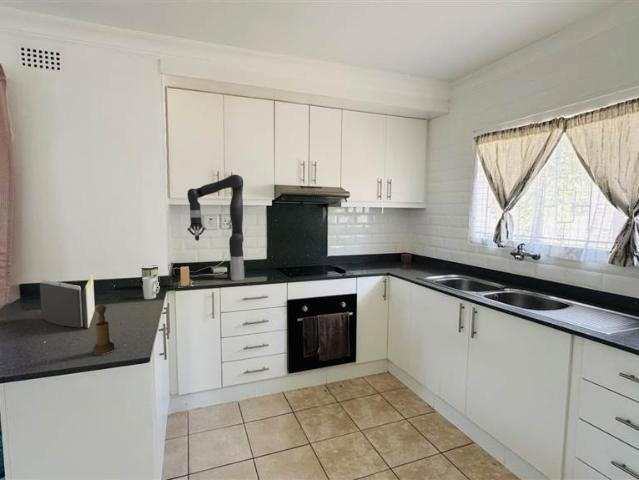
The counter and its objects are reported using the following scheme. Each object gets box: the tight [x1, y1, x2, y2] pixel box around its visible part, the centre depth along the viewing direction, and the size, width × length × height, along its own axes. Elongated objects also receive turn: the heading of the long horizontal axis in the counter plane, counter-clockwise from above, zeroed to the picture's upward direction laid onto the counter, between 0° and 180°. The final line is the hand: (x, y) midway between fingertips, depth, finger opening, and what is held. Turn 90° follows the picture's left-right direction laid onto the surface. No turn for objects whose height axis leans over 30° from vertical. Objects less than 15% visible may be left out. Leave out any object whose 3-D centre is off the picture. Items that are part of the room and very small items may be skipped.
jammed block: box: [179, 266, 190, 286], centre depth 226 cm, size 5×4×12 cm
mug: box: [141, 277, 161, 300], centre depth 198 cm, size 10×7×12 cm, turn 77°
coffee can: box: [140, 267, 158, 290], centre depth 220 cm, size 10×10×14 cm
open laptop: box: [39, 274, 96, 329], centre depth 163 cm, size 35×22×20 cm, turn 66°
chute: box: [178, 279, 195, 287], centre depth 229 cm, size 10×12×2 cm
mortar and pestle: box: [92, 304, 115, 354], centre depth 127 cm, size 7×6×18 cm
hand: (197, 240), depth 244 cm, fingers closed
